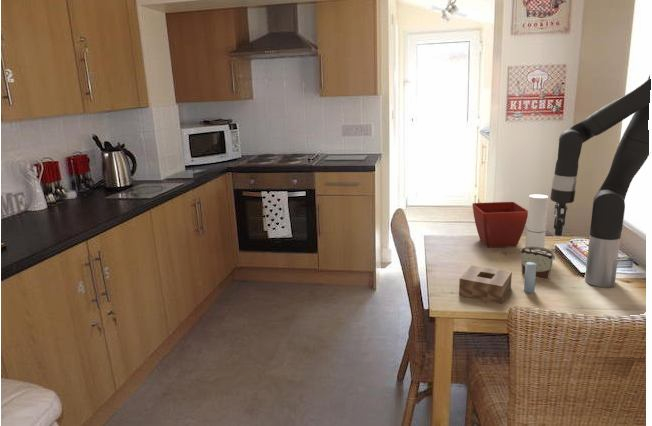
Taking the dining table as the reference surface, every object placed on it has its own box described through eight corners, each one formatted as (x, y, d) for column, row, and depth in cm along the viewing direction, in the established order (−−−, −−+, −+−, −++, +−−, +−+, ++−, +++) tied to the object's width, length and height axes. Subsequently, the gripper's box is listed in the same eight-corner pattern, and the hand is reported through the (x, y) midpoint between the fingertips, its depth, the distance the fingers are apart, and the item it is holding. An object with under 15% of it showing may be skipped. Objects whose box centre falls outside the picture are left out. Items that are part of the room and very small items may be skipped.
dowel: (535, 290, 164) (537, 263, 161) (533, 294, 161) (535, 266, 159) (524, 288, 166) (526, 261, 163) (522, 292, 163) (524, 264, 160)
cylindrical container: (544, 253, 199) (549, 195, 192) (542, 258, 193) (546, 198, 186) (526, 250, 202) (530, 193, 196) (523, 256, 197) (527, 197, 190)
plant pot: (470, 237, 223) (471, 202, 219) (511, 236, 223) (513, 201, 219) (482, 250, 205) (483, 212, 201) (526, 249, 204) (529, 211, 200)
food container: (558, 276, 175) (560, 250, 173) (552, 281, 171) (554, 254, 168) (524, 268, 183) (526, 244, 181) (518, 273, 179) (519, 248, 177)
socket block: (510, 287, 166) (511, 271, 165) (501, 303, 155) (502, 286, 154) (470, 280, 174) (471, 265, 172) (458, 294, 163) (459, 278, 161)
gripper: (577, 193, 157) (570, 239, 161) (574, 184, 170) (567, 227, 174) (552, 191, 160) (546, 236, 164) (551, 182, 172) (545, 225, 177)
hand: (557, 232), depth 169 cm, fingers open, 8 cm apart
